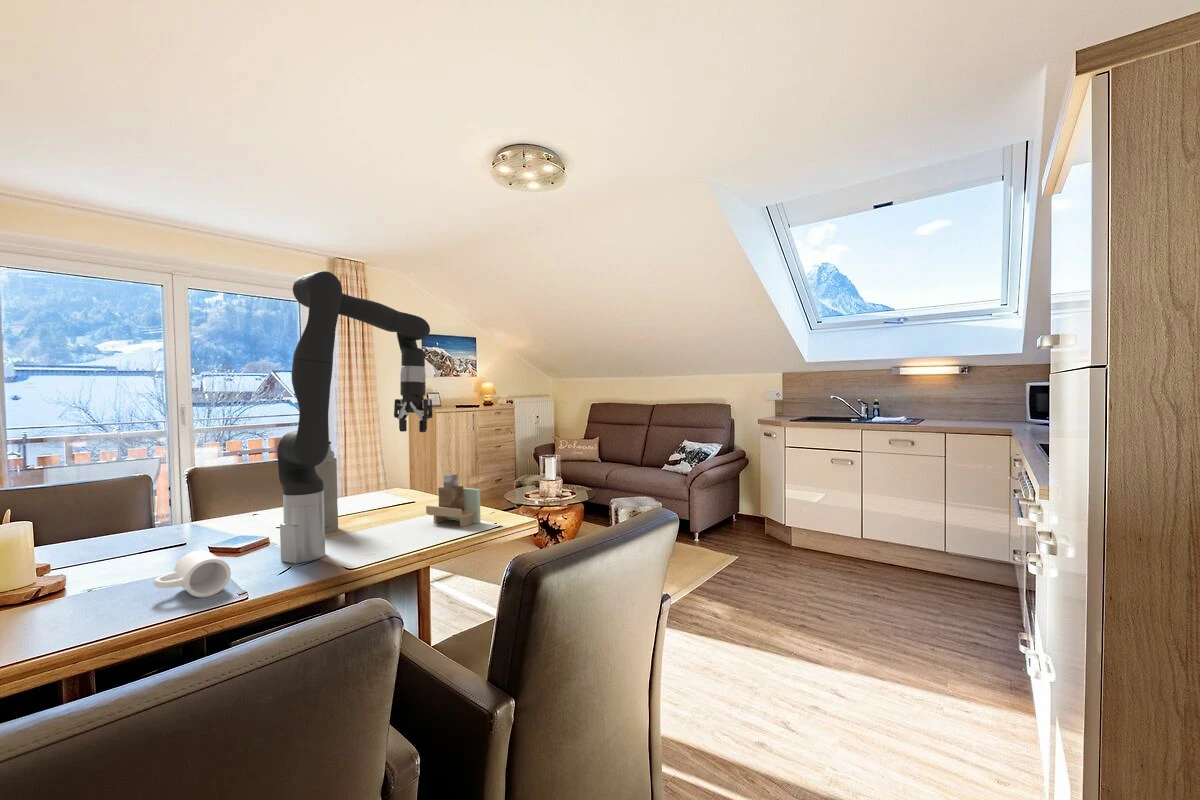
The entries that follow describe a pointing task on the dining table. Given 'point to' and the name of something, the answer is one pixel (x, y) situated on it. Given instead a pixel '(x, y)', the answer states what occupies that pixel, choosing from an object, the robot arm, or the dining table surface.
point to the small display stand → (466, 516)
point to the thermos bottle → (329, 490)
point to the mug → (197, 574)
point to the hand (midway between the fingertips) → (412, 431)
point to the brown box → (451, 493)
